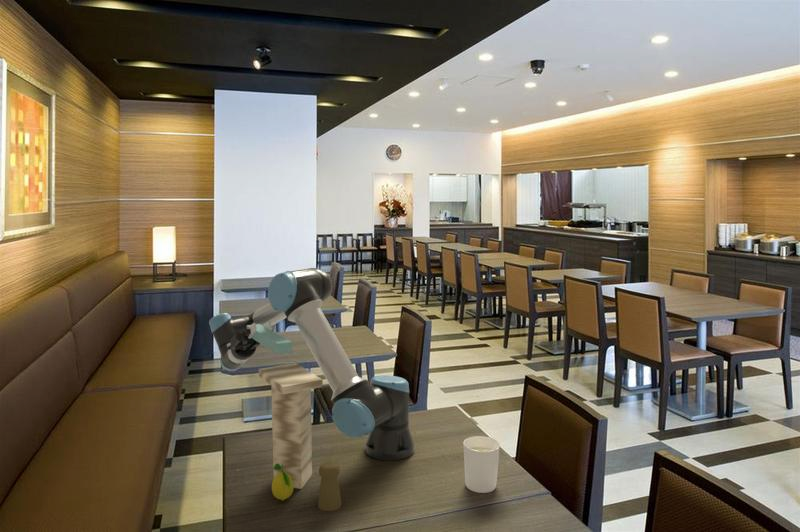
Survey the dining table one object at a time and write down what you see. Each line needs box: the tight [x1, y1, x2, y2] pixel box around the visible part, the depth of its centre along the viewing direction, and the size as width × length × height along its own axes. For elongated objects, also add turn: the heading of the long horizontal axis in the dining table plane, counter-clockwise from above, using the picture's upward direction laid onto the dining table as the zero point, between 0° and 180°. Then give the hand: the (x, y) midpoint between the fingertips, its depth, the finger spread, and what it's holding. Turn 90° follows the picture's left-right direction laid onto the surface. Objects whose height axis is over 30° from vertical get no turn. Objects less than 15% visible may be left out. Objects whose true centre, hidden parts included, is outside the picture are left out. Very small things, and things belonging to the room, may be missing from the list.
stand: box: [258, 362, 324, 490], centre depth 156 cm, size 11×18×30 cm, turn 33°
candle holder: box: [462, 435, 501, 494], centre depth 154 cm, size 10×10×12 cm
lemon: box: [271, 463, 294, 502], centre depth 146 cm, size 7×6×10 cm
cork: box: [317, 460, 342, 512], centre depth 144 cm, size 6×6×11 cm
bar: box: [247, 324, 293, 355], centre depth 165 cm, size 26×4×3 cm, turn 33°
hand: (262, 326), depth 168 cm, fingers closed on bar, 4 cm apart
